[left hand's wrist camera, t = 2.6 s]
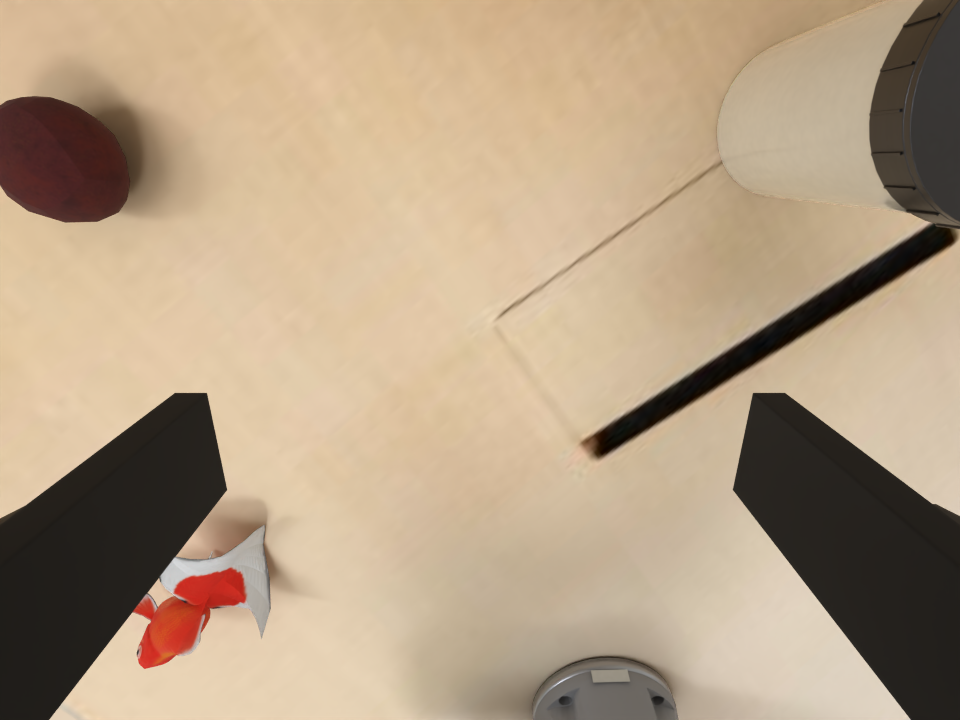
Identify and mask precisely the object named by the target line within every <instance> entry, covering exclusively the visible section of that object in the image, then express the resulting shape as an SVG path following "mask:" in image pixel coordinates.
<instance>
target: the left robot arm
mask: <svg viewBox="0 0 960 720" xmlns="http://www.w3.org/2000/svg"><path fill="white" fill-rule="evenodd" d="M226 491H227V487H226V482H225V478H224V473H223V468H222V463H221V458H220V454H219V449H218V444H217V439H216V434H215V430H214V425H213V420H212V415H211V410H210V406H209V401H208V396H207V393H174V394H173V395H172V396H170V397H169V398H168V399H166V400H165V401H164V402H163V403H161V404H160V405H159V406H157V407H156V408H155V409H153V410H152V411H151V412H149V413H148V414H147V415H145V416H144V417H143V418H141V419H140V420H139V421H137V422H136V423H135V424H133V425H132V426H131V427H129V428H128V429H127V430H125V431H124V432H123V433H121V434H120V435H119V436H117V437H116V438H115V439H113V440H112V441H111V442H109V443H108V444H107V445H105V446H104V447H103V448H101V449H100V450H99V451H97V452H96V453H95V454H93V455H92V456H91V457H90V458H88V459H87V460H86V461H84V462H83V463H82V464H80V465H79V466H78V467H76V468H75V469H74V470H72V471H71V472H70V473H68V474H67V475H66V476H64V477H63V478H62V479H60V480H59V481H58V482H56V483H55V484H54V485H52V486H51V487H50V488H48V489H47V490H46V491H44V492H43V493H42V494H40V495H39V496H38V497H36V498H35V499H34V500H32V501H31V502H30V503H28V504H27V505H26V506H24V507H22V508H20V509H18V510H16V511H14V512H12V513H10V514H8V515H6V516H4V517H2V518H0V720H49V719H50V718H51V717H52V715H53V714H54V713H55V711H56V710H57V709H58V708H59V706H60V705H61V704H62V702H63V701H64V700H65V698H66V697H67V696H68V695H69V693H70V692H71V691H72V689H73V688H74V687H75V686H76V684H77V683H78V682H79V680H80V679H81V678H82V677H83V675H84V674H85V673H86V671H87V670H88V669H89V668H90V666H91V665H92V664H93V662H94V661H95V660H96V658H97V657H98V656H99V655H100V653H101V652H102V651H103V649H104V648H105V647H106V646H107V644H108V643H109V642H110V640H111V639H112V638H113V637H114V635H115V634H116V633H117V631H118V630H119V629H120V627H121V626H122V625H123V624H124V622H125V621H126V620H127V618H128V617H129V616H130V615H131V613H132V612H133V611H134V609H135V608H136V607H137V606H138V604H139V603H140V602H141V600H142V599H143V598H144V596H145V595H146V594H147V593H148V591H149V590H150V589H151V587H152V586H153V585H154V584H155V582H156V581H157V580H158V578H159V577H160V576H161V575H162V573H163V572H164V571H165V569H166V568H167V567H168V565H169V564H170V563H171V562H172V560H173V559H174V558H175V556H176V555H177V554H178V553H179V551H180V550H181V549H182V547H183V546H184V545H185V544H186V542H187V541H188V540H189V538H190V537H191V536H192V535H193V533H194V532H195V531H196V529H197V528H198V527H199V525H200V524H201V523H202V522H203V520H204V519H205V518H206V516H207V515H208V514H209V513H210V511H211V510H212V509H213V507H214V506H215V505H216V504H217V502H218V501H219V500H220V498H221V497H222V496H223V494H224V493H225V492H226ZM733 491H734V492H735V493H736V494H737V496H738V497H739V498H740V500H741V501H742V502H743V504H744V505H745V506H746V507H747V509H748V510H749V511H750V513H751V514H752V515H753V516H754V518H755V519H756V520H757V522H758V523H759V524H760V525H761V527H762V528H763V529H764V531H765V532H766V533H767V535H768V536H769V537H770V538H771V540H772V541H773V542H774V544H775V545H776V546H777V547H778V549H779V550H780V551H781V553H782V554H783V555H784V556H785V558H786V559H787V560H788V562H789V563H790V564H791V565H792V567H793V568H794V569H795V571H796V572H797V573H798V575H799V576H800V577H801V578H802V580H803V581H804V582H805V584H806V585H807V586H808V587H809V589H810V590H811V591H812V593H813V594H814V595H815V596H816V598H817V599H818V600H819V602H820V603H821V604H822V606H823V607H824V608H825V609H826V611H827V612H828V613H829V615H830V616H831V617H832V618H833V620H834V621H835V622H836V624H837V625H838V626H839V627H840V629H841V630H842V631H843V633H844V634H845V635H846V637H847V638H848V639H849V640H850V642H851V643H852V644H853V646H854V647H855V648H856V649H857V651H858V652H859V653H860V655H861V656H862V657H863V658H864V660H865V661H866V662H867V664H868V665H869V666H870V668H871V669H872V670H873V671H874V673H875V674H876V675H877V677H878V678H879V679H880V680H881V682H882V683H883V684H884V686H885V687H886V688H887V689H888V691H889V692H890V693H891V695H892V696H893V697H894V698H895V700H896V701H897V702H898V704H899V705H900V706H901V708H902V709H903V710H904V711H905V713H906V714H907V715H908V717H909V718H910V719H911V720H960V516H958V515H956V514H954V513H952V512H950V511H948V510H946V509H944V508H942V507H940V506H938V505H937V504H932V503H930V502H929V501H928V500H926V499H925V498H924V497H922V496H921V495H920V494H918V493H917V492H916V491H914V490H913V489H912V488H910V487H909V486H908V485H906V484H905V483H904V482H902V481H901V480H900V479H898V478H897V477H896V476H894V475H893V474H892V473H890V472H889V471H888V470H886V469H885V468H884V467H882V466H881V465H880V464H878V463H877V462H876V461H874V460H873V459H872V458H870V457H869V456H868V455H867V454H865V453H864V452H863V451H861V450H860V449H859V448H857V447H856V446H855V445H853V444H852V443H851V442H849V441H848V440H847V439H845V438H844V437H843V436H841V435H840V434H839V433H837V432H836V431H835V430H833V429H832V428H831V427H829V426H828V425H827V424H825V423H824V422H823V421H821V420H820V419H819V418H817V417H816V416H815V415H813V414H812V413H811V412H809V411H808V410H807V409H805V408H804V407H803V406H801V405H800V404H799V403H797V402H796V401H795V400H794V399H792V398H791V397H790V396H788V395H787V394H786V393H753V396H752V401H751V406H750V410H749V415H748V420H747V425H746V430H745V434H744V439H743V444H742V449H741V454H740V458H739V463H738V468H737V473H736V477H735V482H734V487H733ZM532 715H533V720H678V715H677V710H676V705H675V702H674V699H673V696H672V693H671V691H670V688H669V686H668V684H667V683H666V681H665V680H664V679H663V678H662V677H661V676H660V675H659V674H658V673H657V672H655V671H654V670H653V669H651V668H649V667H647V666H645V665H643V664H641V663H638V662H635V661H631V660H627V659H621V658H596V659H589V660H585V661H581V662H577V663H574V664H572V665H569V666H567V667H565V668H563V669H561V670H559V671H558V672H556V673H555V674H553V675H552V676H551V677H550V678H548V679H547V680H546V681H545V682H544V683H543V684H542V686H541V687H540V688H539V690H538V692H537V693H536V696H535V698H534V701H533V707H532Z"/></svg>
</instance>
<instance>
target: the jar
mask: <svg viewBox="0 0 960 720" xmlns="http://www.w3.org/2000/svg"><path fill="white" fill-rule="evenodd" d="M922 2H923V0H884V1H881V2H879V3H876V4H874V5H871V6H869V7H866V8H864V9H861V10H859V11H856V12H854V13H851V14H849V15H846V16H844V17H841V18H839V19H836V20H834V21H831V22H829V23H827V24H824V25H822V26H819V27H817V28H814V29H812V30H809V31H807V32H804V33H802V34H799V35H797V36H794V37H792V38H789V39H787V40H784V41H782V42H780V43H777V44H775V45H773V46H771V47H769V48H767V49H766V50H764V51H763V52H761V53H760V54H758V55H757V56H756V57H755V58H753V59H752V60H751V61H750V62H749V63H748V64H747V65H746V66H745V67H744V68H743V69H742V70H741V72H740V73H739V74H738V75H737V77H736V78H735V80H734V81H733V83H732V84H731V86H730V88H729V90H728V92H727V94H726V96H725V98H724V101H723V103H722V106H721V110H720V113H719V118H718V125H717V143H718V150H719V154H720V157H721V160H722V162H723V165H724V167H725V168H726V170H727V172H728V173H729V175H730V176H731V177H732V178H733V180H734V181H735V182H737V183H738V184H739V185H740V186H741V187H743V188H744V189H746V190H748V191H750V192H752V193H754V194H757V195H761V196H766V197H774V198H782V199H791V200H799V201H808V202H817V203H825V204H834V205H842V206H851V207H860V208H868V209H877V210H885V211H894V212H902V213H907V212H905V211H906V210H905V209H904V208H903V207H901V206H900V205H899V204H898V203H897V202H896V201H895V200H894V199H893V198H892V197H891V196H890V194H889V193H888V191H887V190H886V189H884V188H883V187H884V186H883V184H882V182H881V180H880V178H879V176H878V174H877V172H876V169H875V165H874V162H873V159H872V156H871V148H870V141H869V119H870V116H869V113H870V109H871V102H872V98H873V94H874V90H875V85H876V82H877V79H878V76H879V74H880V69H881V68H882V65H883V63H884V61H885V59H886V57H887V54H888V52H889V50H890V48H891V46H892V44H893V43H894V41H895V39H896V37H897V36H898V34H899V32H900V31H901V29H902V27H903V24H904V23H906V22H907V20H908V19H909V18H910V16H911V15H912V14H913V12H914V11H915V10H916V8H917V7H918V6H919V5H920V4H921V3H922Z"/></svg>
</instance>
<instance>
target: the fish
mask: <svg viewBox="0 0 960 720" xmlns="http://www.w3.org/2000/svg"><path fill="white" fill-rule="evenodd" d="M264 536H265V525H263V526H261V527H260V528H258V529H257V530H255V531H254V532H253V533H252V534H251V535H250V536H249V537H248V538H246V539H245V540H244V541H243V542H242V543H240V544H239V545H238V546H236V547H235V548H233V549H232V550H230V551H229V552H227V553H226V554H224V555H223V556H221V557H217V558H212V559H211V556H212V552H211V554H210V557H209V559H186V558H180V557H175V558H174V559H173V560H172V562H171V563H170V564H169V565H168V567H167V568H166V569H165V571H164V572H163V573H162V575H161V576H160V577H159V578H160V582H161V583H162V584H163V586H164V587H165V588H166V589H167V590H168V591H169V592H170V593H172V594H173V595H174V596H173V597H171V598H169V599H167V600H165V601H164V602H163V603H162V604H161V605H160V606H159V607H157V605H156V603H155V601H154V599H153V598H152V597H151V596H150V595H149V594H148V593H147V594H146V595H145V596H144V598H143V599H142V600H141V602H140V603H139V604H138V606H137V607H136V608H135V609H134V611H133V612H134V613H136V614H139V615H142V616H144V617H146V618H147V619H149V620H151V623H150V624H148V626H147V628H146V631H145V633H144V635H143V638H142V640H141V642H140V644H139V647H138V651H137V657H138V661H139V664H140V665H141V666H142V667H143V668H144V669H146V668H150V667H155V666H159V665H162V664H165V663H167V662H169V661H170V660H171V659H172V658H173V657H175V656H176V655H178V656H184V655H188V654H191V653H192V652H193V651H194V650H195V649H196V647H197V646H198V644H199V642H200V634H201V632H202V631H203V629H204V628H205V626H206V624H207V622H208V620H209V618H210V608H212V609H215V608H223V607H230V606H235V607H241V608H249V609H250V610H251V611H252V613H253V615H254V617H255V618H256V621H257V624H258V627H259V630H260V634H261V639H262V636H263V632H264V629H265V625H266V622H267V619H268V615H269V612H270V609H271V605H270V580H269V573H268V568H267V562H266V557H265V551H264V545H263V543H264Z"/></svg>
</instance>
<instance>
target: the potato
mask: <svg viewBox="0 0 960 720" xmlns="http://www.w3.org/2000/svg"><path fill="white" fill-rule="evenodd" d="M129 185H130V180H129V174H128V169H127V163H126V158H125V156H124V154H123V152H122V150H121V148H120V146H119V144H118V142H117V140H116V138H115V136H114V135H113V134H112V133H111V132H110V131H109V130H108V129H107V128H106V127H105V126H104V125H103V124H102V123H101V122H100V121H99V120H97V119H96V118H94V117H93V116H91V115H90V114H88V113H87V112H85V111H84V110H82V109H81V108H79V107H77V106H74V105H72V104H69V103H66V102H64V101H61V100H57V99H54V98H51V97H37V96H32V97H20V98H16V99H12V100H8V101H6V102H4V103H3V104H2V105H0V186H1V187H2V189H3V190H4V192H5V193H6V194H7V196H8V197H10V198H11V199H12V200H14V201H15V202H16V203H18V204H19V205H21V206H22V207H23V208H25V209H26V210H28V211H30V212H33V213H36V214H39V215H43V216H46V217H49V218H52V219H56V220H59V221H62V222H98V221H100V220H102V219H105V218H107V217H109V216H112V215H114V214H116V213H118V212H119V211H120V210H121V208H122V207H123V205H124V203H125V202H126V200H127V197H128V191H129Z"/></svg>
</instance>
